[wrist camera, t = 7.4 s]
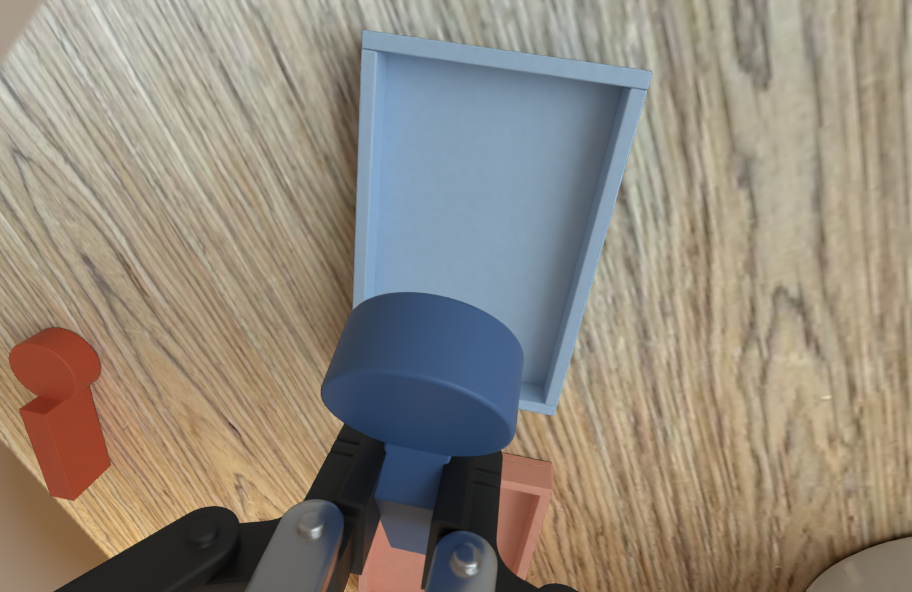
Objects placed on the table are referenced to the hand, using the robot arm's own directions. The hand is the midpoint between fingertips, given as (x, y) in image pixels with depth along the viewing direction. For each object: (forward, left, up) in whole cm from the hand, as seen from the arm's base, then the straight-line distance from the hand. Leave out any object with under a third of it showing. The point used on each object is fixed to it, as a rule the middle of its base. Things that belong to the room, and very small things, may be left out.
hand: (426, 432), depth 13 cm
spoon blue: (0, +1, 0) cm, 1 cm away
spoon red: (-23, -13, -11) cm, 28 cm away
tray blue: (0, +2, -11) cm, 11 cm away
